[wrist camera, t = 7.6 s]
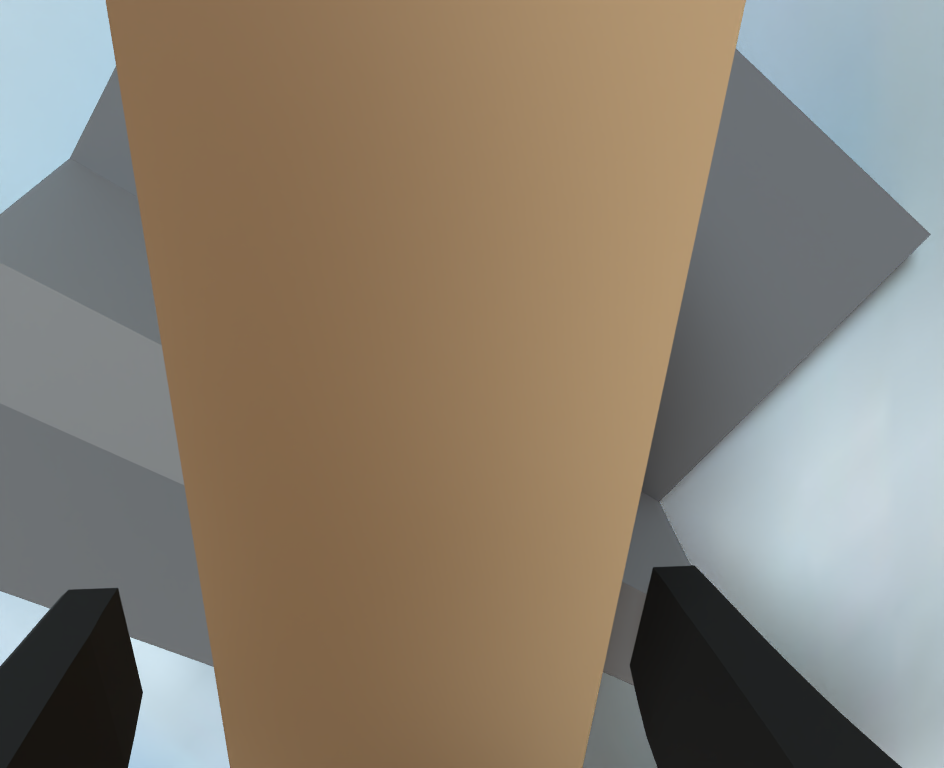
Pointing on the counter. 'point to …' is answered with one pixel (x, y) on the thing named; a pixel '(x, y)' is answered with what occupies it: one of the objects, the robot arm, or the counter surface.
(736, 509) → the counter surface
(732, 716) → the robot arm
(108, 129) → the stand
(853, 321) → the counter surface
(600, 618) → the wooden block
